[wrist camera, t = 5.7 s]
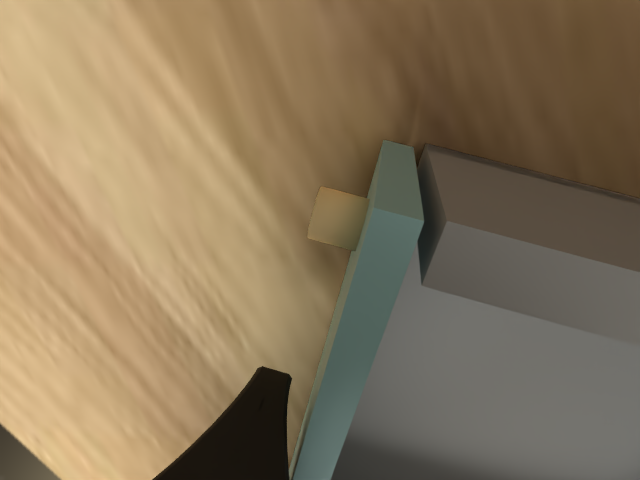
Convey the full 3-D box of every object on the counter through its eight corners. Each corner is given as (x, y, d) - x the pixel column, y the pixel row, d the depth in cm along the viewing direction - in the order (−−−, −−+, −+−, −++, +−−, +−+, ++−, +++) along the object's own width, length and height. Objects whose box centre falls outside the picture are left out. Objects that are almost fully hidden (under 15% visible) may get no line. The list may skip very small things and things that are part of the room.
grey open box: (591, 570, 17) (668, 779, 12) (311, 484, 18) (278, 650, 13) (888, 262, 11) (1311, 452, 6) (425, 143, 11) (447, 220, 6)
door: (300, 495, 18) (267, 655, 13) (258, 482, 18) (209, 636, 13) (413, 146, 11) (424, 222, 6) (343, 128, 11) (303, 190, 6)
